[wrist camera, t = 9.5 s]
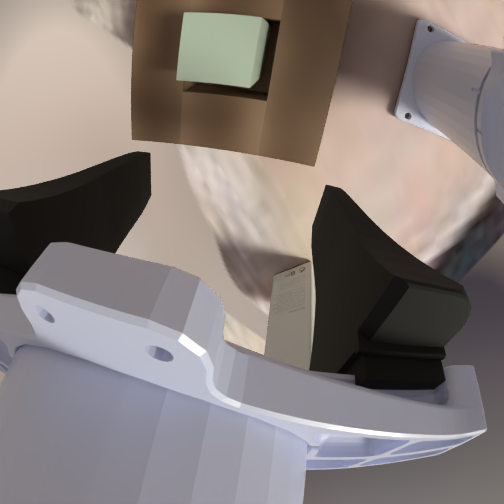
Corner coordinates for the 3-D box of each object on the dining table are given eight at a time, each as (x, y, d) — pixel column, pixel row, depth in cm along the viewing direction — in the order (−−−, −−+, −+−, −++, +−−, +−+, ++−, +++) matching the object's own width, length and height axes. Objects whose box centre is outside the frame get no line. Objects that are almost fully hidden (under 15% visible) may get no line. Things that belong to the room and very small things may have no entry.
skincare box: (271, 274, 29) (256, 390, 20) (311, 259, 27) (310, 380, 18) (300, 310, 32) (295, 414, 22) (336, 297, 30) (342, 406, 21)
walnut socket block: (345, -8, 12) (355, -18, 9) (311, 147, 20) (314, 166, 17) (164, -23, 12) (141, -32, 10) (153, 124, 20) (131, 139, 17)
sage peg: (271, 26, 14) (262, 17, 10) (262, 75, 17) (249, 88, 12) (215, 20, 14) (184, 12, 10) (209, 68, 17) (176, 80, 12)
